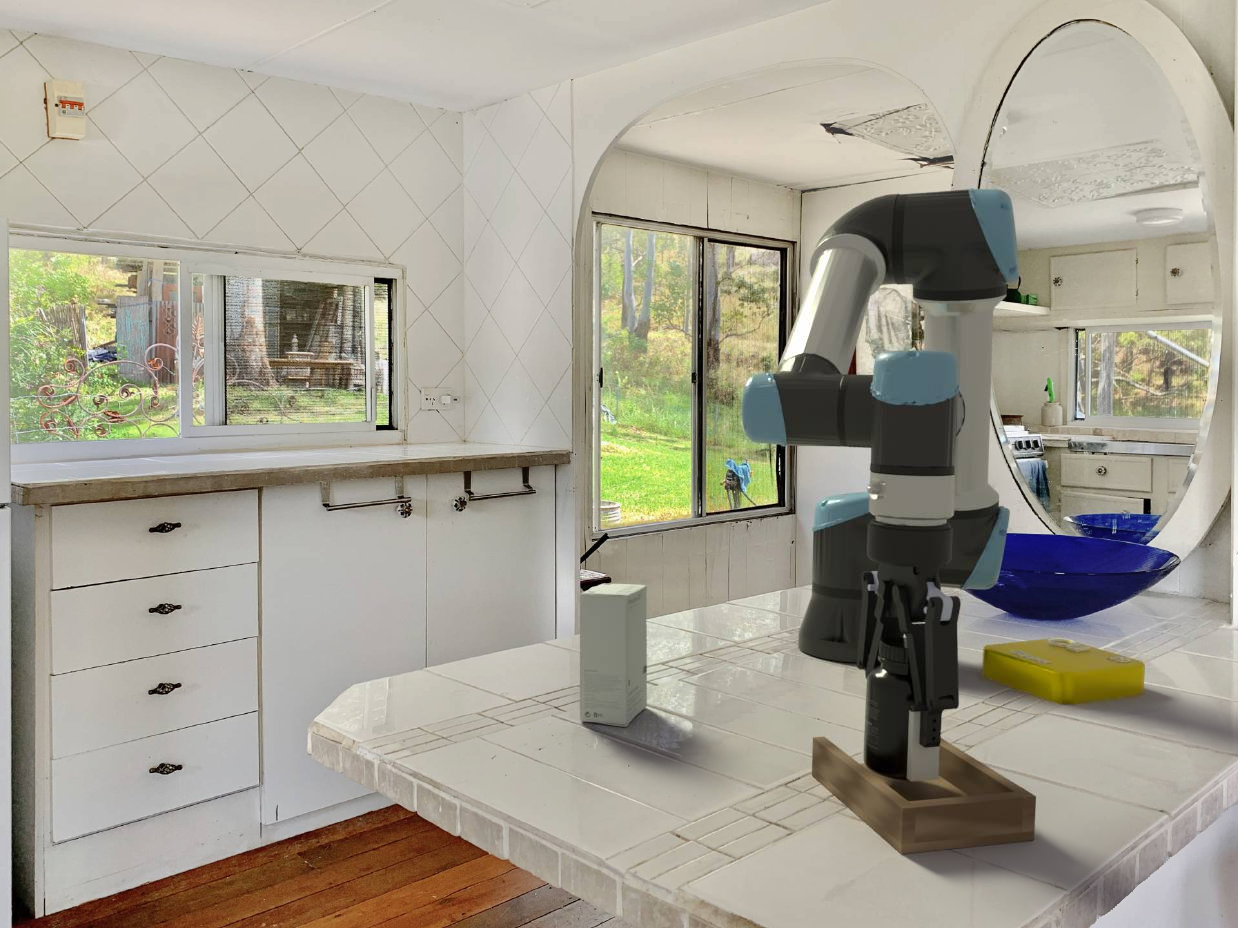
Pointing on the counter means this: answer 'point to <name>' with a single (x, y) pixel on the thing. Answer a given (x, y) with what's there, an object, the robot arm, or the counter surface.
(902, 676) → the supplement bottle
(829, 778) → the u rest
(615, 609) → the skincare box
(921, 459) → the robot arm
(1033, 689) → the element tile
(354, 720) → the counter surface
